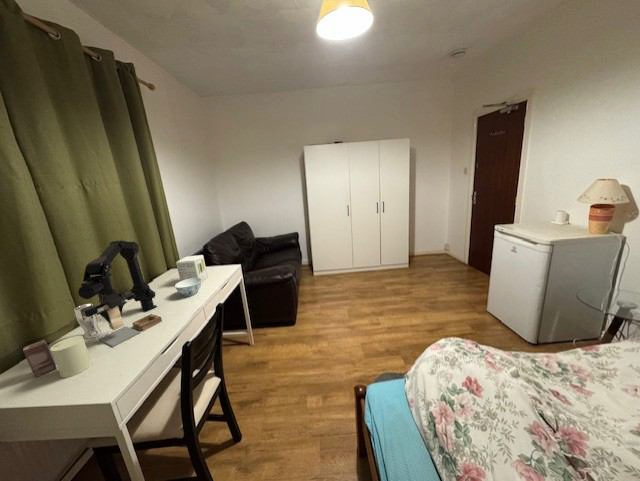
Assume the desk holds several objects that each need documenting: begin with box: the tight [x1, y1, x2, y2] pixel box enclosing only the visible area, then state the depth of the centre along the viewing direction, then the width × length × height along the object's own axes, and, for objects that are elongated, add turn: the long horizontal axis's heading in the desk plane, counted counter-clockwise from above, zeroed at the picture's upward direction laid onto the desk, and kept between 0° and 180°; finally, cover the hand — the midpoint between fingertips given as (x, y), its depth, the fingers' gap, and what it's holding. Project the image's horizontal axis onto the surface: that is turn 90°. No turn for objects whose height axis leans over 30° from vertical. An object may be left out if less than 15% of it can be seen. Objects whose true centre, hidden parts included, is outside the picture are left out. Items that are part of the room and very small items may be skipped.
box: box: [22, 339, 58, 378], centre depth 98 cm, size 6×4×12 cm
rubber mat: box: [98, 325, 141, 348], centre depth 119 cm, size 14×11×1 cm
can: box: [49, 335, 93, 379], centre depth 97 cm, size 9×9×12 cm
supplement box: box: [175, 254, 209, 284], centre depth 179 cm, size 13×13×18 cm
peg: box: [104, 306, 125, 331], centre depth 116 cm, size 4×4×10 cm
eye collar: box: [132, 313, 163, 332], centre depth 127 cm, size 9×9×2 cm
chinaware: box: [174, 278, 202, 297], centre depth 159 cm, size 15×15×8 cm
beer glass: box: [73, 302, 102, 340], centre depth 121 cm, size 7×7×15 cm
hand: (114, 320), depth 117 cm, fingers closed on peg, 4 cm apart
